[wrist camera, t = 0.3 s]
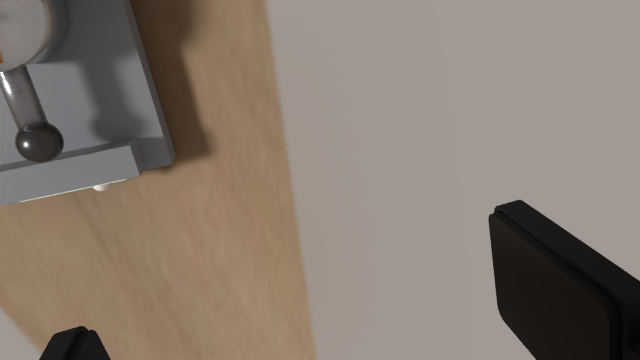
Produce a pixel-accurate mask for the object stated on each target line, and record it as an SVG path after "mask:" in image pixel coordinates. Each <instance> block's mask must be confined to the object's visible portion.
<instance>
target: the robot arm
mask: <svg viewBox="0 0 640 360" xmlns="http://www.w3.org/2000/svg"><path fill="white" fill-rule="evenodd" d="M489 229H490V238H491V248H492V258H493V267H494V277H495V286H496V296H497V305H498V310H499V313H500V315H501V317H502V319H503V320H504V322H505V323H506V324H507V325H508V327H509V328H510V329H511V330H512V331H513V333H514V334H515V335H516V336H517V337H518V339H519V340H520V341H521V342H522V343H523V344H524V346H525V347H526V348H527V349H528V350H529V352H530V353H531V354H532V355H533V356H534V357H535V359H536V360H640V281H639V280H637V279H636V278H634V277H633V276H631V275H630V274H629V273H627V272H625V271H624V270H623V269H621V268H620V267H618V266H617V265H615V264H614V263H613V262H611V261H609V260H608V259H607V258H605V257H604V256H602V255H601V254H599V253H598V252H597V251H595V250H594V249H592V248H591V247H589V246H588V245H586V244H585V243H583V242H582V241H580V240H579V239H578V238H576V237H574V236H573V235H572V234H570V233H569V232H567V231H566V230H564V229H563V228H562V227H560V226H559V225H557V224H556V223H554V222H553V221H551V220H550V219H548V218H547V217H546V216H544V215H542V214H541V213H539V212H538V211H537V210H535V209H534V208H532V207H531V206H529V205H528V204H527V203H525V202H523V201H522V200H517V201H513V202H509V203H506V204H502V205H499V206H496V208H495V210H494V213H493V214H490V215H489ZM39 360H111V359H110V357H109V355H108V353H107V352H106V350H105V348H104V346H103V344H102V342H101V340H100V338H99V336H98V334H97V333H96V331H94V330H89V331H88V329H87V328H85V327H84V326H79V327H76V328H72V329H69V330H66V331H62V332H59V333H56V334H54V335H53V336H52V338H51V340H50V341H49V343H48V345H47V347H46V348H45V350H44V352H43V354H42V356H41V357H40V359H39Z"/></svg>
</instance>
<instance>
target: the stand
mask: <svg viewBox="0 0 640 360" xmlns="http://www.w3.org/2000/svg"><path fill="white" fill-rule="evenodd" d="M66 3H67V7H68V12H69V28H68V32H67V36H66V38H65V40H64V42H63V44H62V45H61V47H60V48H59V49H58V50H57V51H56V52H55V53H54V54H53V55H52V56H50V57H48V58H47V59H45V60H42V61H40V62H37V63H33V64H29V65H26V67H27V69H28V72H29V74H30V77H31V79H32V82H33V85H34V87H35V90H36V92H37V95H38V97H39V100H40V102H41V105H42V107H43V110H44V112H45V115H46V117H47V120H48V123H50V124H52V125H54V126H55V127H57V128H58V129H59V131H60V132H61V134H62V136H63V139H64V147H63V150H62V152H61V153H60V155H59V156H58V157H57V158H56V159H54V160H52V161H50V162H46V163H34V162H31V161H29V160H27V159H25V158H24V157H22V156H21V155H20V154H19V152H18V151H17V149H16V146H15V137H16V134H17V132H18V129H17V126H16V124H15V121H14V119H13V117H12V114H11V112H10V110H9V107H8V105H7V102H6V100H5V98H4V95H3V93H2V91H1V88H0V206H1V205H6V204H10V203H15V202H20V201H21V202H24V201H29V200H33V199H38V198H43V197H48V196H52V195H57V194H62V193H67V192H71V191H76V190H81V189H85V188H90V187H93V188H94V189H95V190H97V191H104V190H106V189H107V188H108V186H109V183H114V182H118V181H123V180H126V179H128V178H133V177H138V176H140V175H141V173H142V172H143V171H145V170H150V169H155V168H159V167H164V166H169V165H172V164H173V162H174V159H175V157H176V153H175V150H174V147H173V143H172V140H171V137H170V133H169V130H168V127H167V123H166V120H165V117H164V113H163V110H162V107H161V103H160V100H159V97H158V93H157V90H156V87H155V83H154V80H153V77H152V73H151V70H150V67H149V63H148V60H147V57H146V53H145V50H144V47H143V43H142V40H141V37H140V33H139V30H138V27H137V23H136V20H135V17H134V13H133V10H132V7H131V3H130V0H66Z"/></svg>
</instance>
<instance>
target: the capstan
mask: <svg viewBox="0 0 640 360" xmlns="http://www.w3.org/2000/svg"><path fill="white" fill-rule="evenodd" d="M68 28H69V12H68V7H67V3H66V0H0V88H1V91H2V93H3V95H4V98H5V100H6V102H7V105H8V107H9V110H10V112H11V114H12V117H13V119H14V121H15V124H16V126H17V129H18V132H17V134H16V137H15V146H16V149H17V151H18V152H19V154H20V155H21V156H22V157H24V158H25V159H27V160H29V161H31V162H34V163H46V162H50V161H52V160H54V159H56V158H57V157H58V156H59V155H60V153H61V152H62V150H63V147H64V139H63V136H62V134H61V132H60V131H59V129H58V128H57V127H55V126H54V125H52V124H50V123H48V120H47V117H46V115H45V112H44V110H43V107H42V105H41V102H40V100H39V97H38V95H37V92H36V90H35V87H34V85H33V82H32V79H31V77H30V74H29V72H28V69H27V67H26V65H29V64H33V63H37V62H40V61H42V60H45V59H47V58H48V57H50V56H52V55H53V54H54V53H55V52H56V51H57V50H58V49H59V48H60V47H61V45H62V44H63V42H64V40H65V38H66V36H67V32H68Z"/></svg>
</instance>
